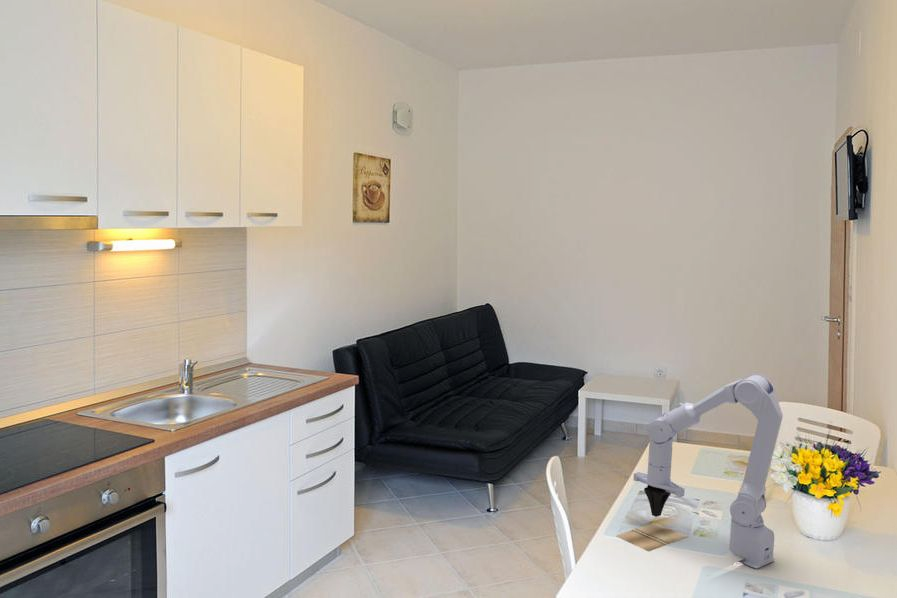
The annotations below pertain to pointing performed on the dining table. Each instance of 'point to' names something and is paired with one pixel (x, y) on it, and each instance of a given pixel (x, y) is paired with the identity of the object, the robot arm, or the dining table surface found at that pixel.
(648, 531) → the plank
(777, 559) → the dining table surface
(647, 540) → the laid board
